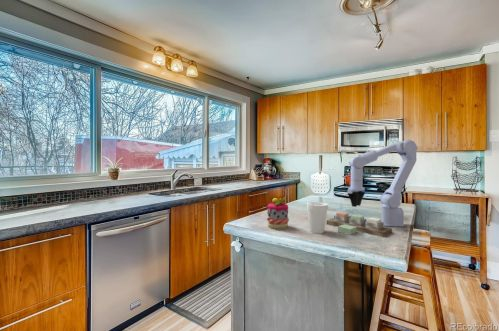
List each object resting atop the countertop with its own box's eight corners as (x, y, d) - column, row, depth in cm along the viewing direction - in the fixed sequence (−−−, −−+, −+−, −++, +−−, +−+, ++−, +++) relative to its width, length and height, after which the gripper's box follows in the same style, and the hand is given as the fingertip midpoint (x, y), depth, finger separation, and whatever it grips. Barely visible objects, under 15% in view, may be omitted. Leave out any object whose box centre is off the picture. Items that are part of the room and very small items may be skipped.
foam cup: (323, 235, 113) (324, 206, 112) (303, 232, 117) (304, 204, 117) (329, 230, 121) (329, 203, 120) (310, 227, 125) (310, 201, 125)
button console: (392, 232, 117) (392, 222, 117) (383, 236, 111) (383, 226, 111) (336, 220, 138) (336, 212, 138) (326, 224, 132) (326, 215, 132)
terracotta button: (348, 219, 130) (348, 213, 130) (344, 220, 127) (344, 214, 127) (340, 217, 134) (340, 211, 134) (336, 218, 131) (336, 213, 131)
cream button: (381, 225, 118) (381, 219, 118) (377, 227, 115) (377, 220, 115) (371, 223, 122) (371, 217, 121) (367, 225, 119) (367, 218, 119)
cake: (263, 227, 125) (264, 197, 125) (272, 222, 134) (272, 194, 134) (284, 230, 120) (284, 199, 120) (291, 225, 129) (291, 196, 129)
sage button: (363, 222, 124) (364, 216, 124) (359, 223, 121) (359, 217, 121) (355, 220, 128) (355, 214, 127) (351, 221, 125) (351, 215, 125)
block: (356, 232, 118) (356, 226, 118) (350, 234, 114) (350, 229, 114) (344, 229, 122) (344, 224, 122) (337, 231, 118) (338, 226, 118)
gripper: (355, 178, 139) (355, 203, 140) (342, 180, 130) (341, 206, 130) (368, 179, 134) (368, 205, 135) (355, 181, 125) (355, 208, 125)
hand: (356, 206), depth 132 cm, fingers open, 4 cm apart
